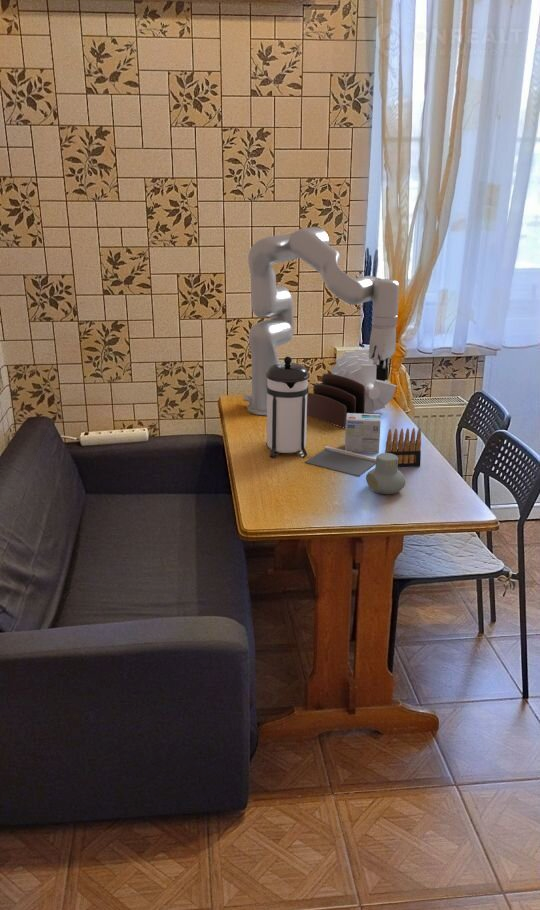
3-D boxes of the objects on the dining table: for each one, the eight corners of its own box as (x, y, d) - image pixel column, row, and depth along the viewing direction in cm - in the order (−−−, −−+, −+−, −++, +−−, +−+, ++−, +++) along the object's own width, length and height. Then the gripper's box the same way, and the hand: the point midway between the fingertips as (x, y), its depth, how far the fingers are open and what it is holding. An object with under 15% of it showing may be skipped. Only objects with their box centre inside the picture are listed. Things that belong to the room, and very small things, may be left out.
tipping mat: (304, 462, 228) (304, 459, 228) (326, 448, 238) (326, 445, 238) (358, 476, 219) (359, 473, 219) (379, 461, 229) (379, 458, 229)
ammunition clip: (418, 464, 228) (421, 426, 223) (420, 466, 226) (423, 428, 222) (383, 465, 227) (386, 427, 222) (384, 468, 225) (387, 429, 221)
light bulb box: (378, 445, 242) (380, 413, 237) (379, 453, 235) (381, 420, 231) (344, 444, 242) (346, 411, 238) (344, 452, 236) (346, 419, 232)
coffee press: (322, 450, 238) (326, 355, 226) (288, 464, 227) (290, 366, 215) (281, 435, 249) (282, 345, 237) (246, 449, 238) (246, 355, 226)
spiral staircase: (359, 426, 269) (338, 400, 291) (404, 403, 269) (379, 379, 291) (340, 383, 260) (320, 360, 282) (387, 359, 260) (362, 338, 282)
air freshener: (362, 484, 214) (364, 451, 211) (388, 480, 217) (390, 447, 213) (381, 500, 205) (383, 466, 201) (408, 496, 208) (411, 462, 204)
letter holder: (322, 408, 275) (324, 370, 270) (364, 422, 261) (366, 382, 256) (302, 414, 269) (303, 375, 263) (344, 429, 255) (346, 388, 250)
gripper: (384, 315, 240) (381, 372, 247) (362, 324, 228) (360, 383, 235) (406, 318, 236) (402, 375, 243) (385, 327, 225) (382, 387, 231)
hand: (381, 379), depth 239 cm, fingers closed
